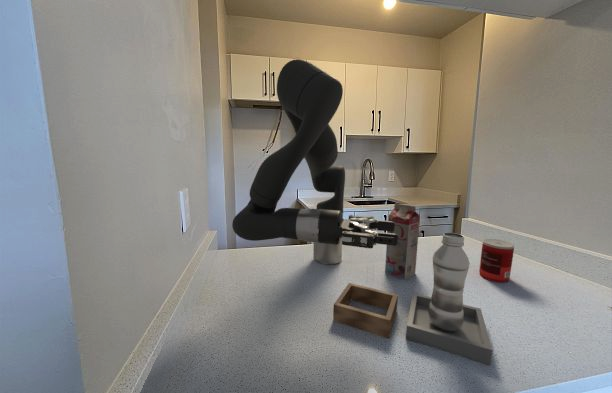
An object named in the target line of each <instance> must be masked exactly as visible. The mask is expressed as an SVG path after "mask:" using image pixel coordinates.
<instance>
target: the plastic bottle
mask: <svg viewBox="0 0 612 393" xmlns="http://www.w3.org/2000/svg"><path fill="white" fill-rule="evenodd" d="M441 244H442V245H440V247H439V248H438V249H437V250H436V251H434V253H433V256H432V267H433V268H432V269H433V288H432V293H431V297H432V298H431V301H430V304H429V308H428V315H429V319H430V321H431V322H432V324H433V325H434V326H436V327H437V328H439V329H442V330H444V331H449V332H455V331H458V330H459V329H460V328H461V327H462V325H463V322H464V312H463V305H464V298H463V297H464V288H465V283H466V278H467V275H468V272H469V269H470V260H469V257H468V255H467V254H466V252H465V250H464V249H463V247H464V245H465V236H464V235H463V234H460V233H457V232H456V233H455V232H444V233H443V234H442V239H441Z"/></svg>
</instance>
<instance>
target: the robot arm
mask: <svg viewBox="0 0 612 393" xmlns="http://www.w3.org/2000/svg"><path fill="white" fill-rule="evenodd" d="M343 89H344V88H343V84H342V83H341V81H340V80H339V79H338V78H336V77H334V76H333V75H332V74H330V73H328V72H327V71H326V70H323V69H322V68H320V67H318V66H317V65H314V64H313V63H312V62H309V61H307V60H304V59H292V60H290V61H288V62H286V63H285V64H284V66H283V67H282V68H281V70H280V72H279V74H278V77H277V81H276V96H277V99H278V102H279V105H280V106H281V108H282V109H283V111H284V113H285V114H286V117H287V118H288V119H289V121H290V123H291V126H292V127H293V130H294V133H295V135H294V137H293V138H292V139H291V140H290V141H288V143H286V144H285V145H284V146H282V147H281V148H279V149H278V150H276V151H274V152H273V153H272V154H270V155H269V156H267V157H266V158H265V159H264V160H263V161H262V162H261V164H260V166H259V167H258V169H257V171H256V173H255V177H254V178H253V180H252V183H251V186H250V189H249V198H250V199H249V202H248V203H247V204H246V206H245V207H244V208H243V209H241V210H240V211H239V212H238V213H236V215H235V216H234V218H233V219H232V224H231V226H232V230H233V232H234V234H235V235H237V236H238V237H239V238H241V239H243V240H245V241H252V242H254V241H255V242H256V241H258V242H259V241H266V240H276V239H279V238H281V239H282V238H283V239H290V240H291V239H292V240H299V241H304V242H307V243H313V253H312V256H313V260H314V261H316V262H318V263H319V264H324V265H336V264H339V263H341V262H342V257H343V246H346V247H347V246H349V247H355V248H356V247H357V248H364V249H365V248H366V249H374V246H377V245H384V246H387V245H394V246H396V245H397V242H398V235H397V234H395V233H387V232H388V231H391V232H393V231H394V227H395V223H394V222H393V221H388V220H381V219H380V220H379V219H377V218H375V217H374V216H372V215H371V216H370V215H369V216H368V215H356V214H355V215H353V214H349V215H348V219H347V218H346V219H344V195H345V186H346V170H345V168H344V166H342V165H335V162H336V161H337V159H338V156H339V155H338V154H339V150H338V142H337V141H338V140H337V137H336V134H335V132H334V130H333V128H332V127H331V125H330V124H329V123H330V122H331V121H332V119H333V118H334V116H335V114H336V113H337V111H338V109H339V107H340V104H341V102H342V99H343V91H344V90H343ZM304 159H305V162H306V163H307V166H308V169H309V172H310V177H311V181H312V186H313V188H314V190H315V191H316V192H320V193H331V194H332V193H334V195H333V196H332V197H330V198H329V199H326V200H323V201H320V202H318V203H317V204H316V208H295V207H293V208H292V207H282V208H278V209H277V206H278V202H279V201H280V199H281V198H282V196H283V194H284V192H285V189H286V188H287V186H288V183H289V182H290V180H291V178H292V176H293V174H294V173H295V171H296V170H297V168H298V167H299V166H300V164H301V163H302V161H303V160H304ZM276 209H277V210H276ZM377 231H378V232H377Z"/></svg>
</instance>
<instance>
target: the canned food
mask: <svg viewBox="0 0 612 393" xmlns="http://www.w3.org/2000/svg"><path fill="white" fill-rule="evenodd" d="M514 249H515V245H514V243H512V242H510V241H506V240H504V239H503V240H502V239H497V238H486V239H482V244H481V254H480V263H479V275H480V276H481V277H482V278H483V279H485V280H488V281H490V282H494V283H507V282H508V281H509V280H510V278H511V272H512V266H513V259H514V253H515V250H514Z"/></svg>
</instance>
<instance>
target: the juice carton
mask: <svg viewBox="0 0 612 393" xmlns="http://www.w3.org/2000/svg"><path fill="white" fill-rule="evenodd" d="M420 220H421V215H420V214H418V212H417V211H416V206H415V205H410V204H402V203H397V202H395V203H394V206H393V209H392V210H391V211H390V212H389V214H388V220H387V221H393V222H394V223H395V227H394V231H393V232H391V231H386V233H395V234H397V235H398V242H397V245H396V246H394V245H386V251H385V265H384V273H386V274H389V275H391V276H394V277H396V278H399V279H400V280H401V279H402V280H404V281H406V280H407V279H409V278H410V277H412V276H414V275H415V274H416V270H417V268H416V266H417V255H418V243H419V231H420Z"/></svg>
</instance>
